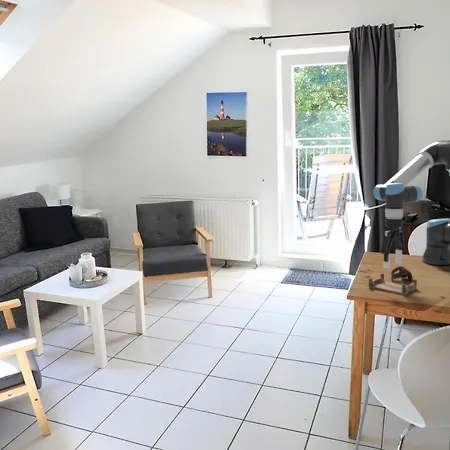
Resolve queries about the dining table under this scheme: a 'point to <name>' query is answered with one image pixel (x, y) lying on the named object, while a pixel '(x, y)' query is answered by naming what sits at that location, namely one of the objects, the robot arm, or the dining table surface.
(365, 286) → the dining table surface
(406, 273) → the pottery mug
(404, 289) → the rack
